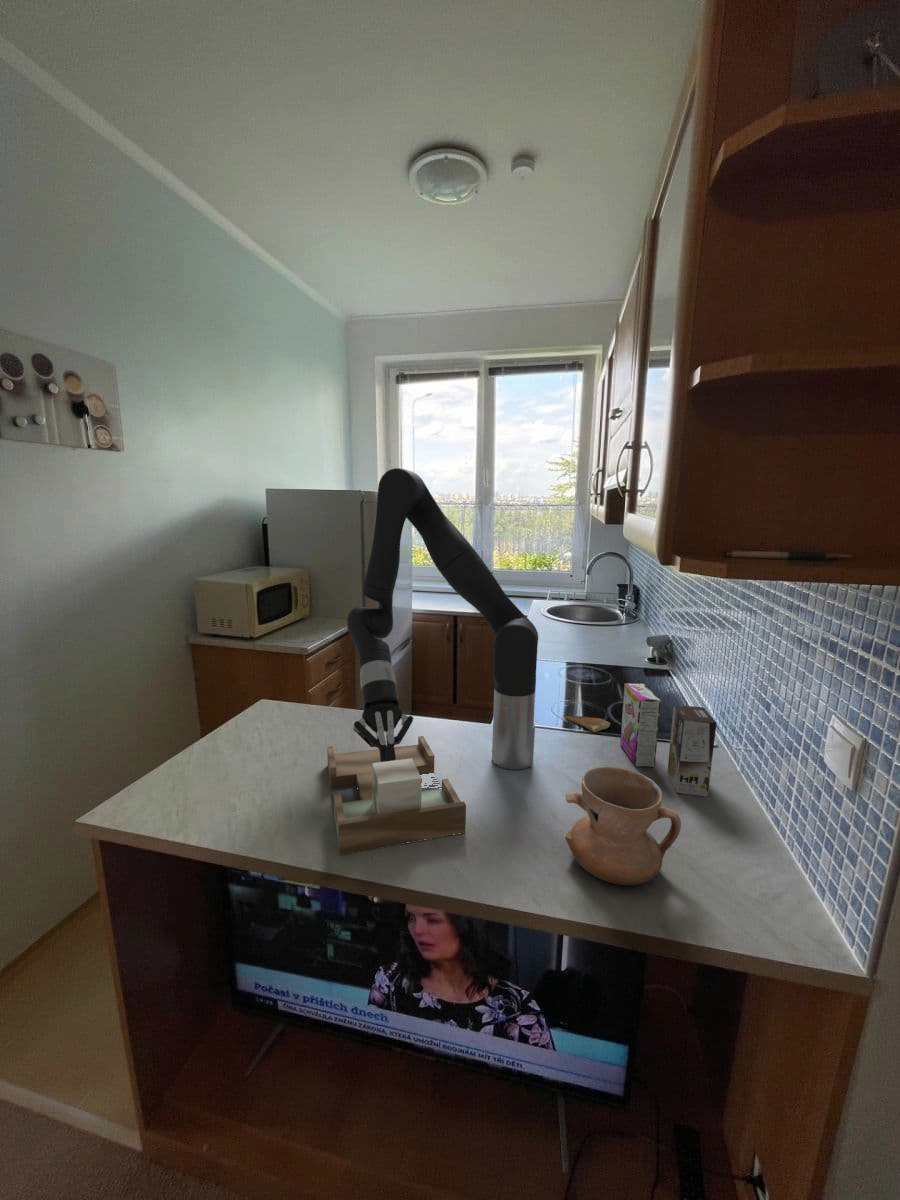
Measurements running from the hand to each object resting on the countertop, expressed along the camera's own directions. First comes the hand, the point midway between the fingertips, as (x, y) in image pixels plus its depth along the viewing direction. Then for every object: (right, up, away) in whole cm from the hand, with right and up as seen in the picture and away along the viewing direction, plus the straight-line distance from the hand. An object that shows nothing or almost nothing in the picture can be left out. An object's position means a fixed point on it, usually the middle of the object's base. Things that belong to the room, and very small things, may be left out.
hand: (389, 765), depth 100 cm
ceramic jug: (+40, -11, -17) cm, 45 cm away
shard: (+50, -2, +38) cm, 62 cm away
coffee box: (+63, -7, +8) cm, 64 cm away
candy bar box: (+57, -5, +20) cm, 60 cm away
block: (+2, -6, -8) cm, 10 cm away
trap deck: (0, -6, +2) cm, 7 cm away
